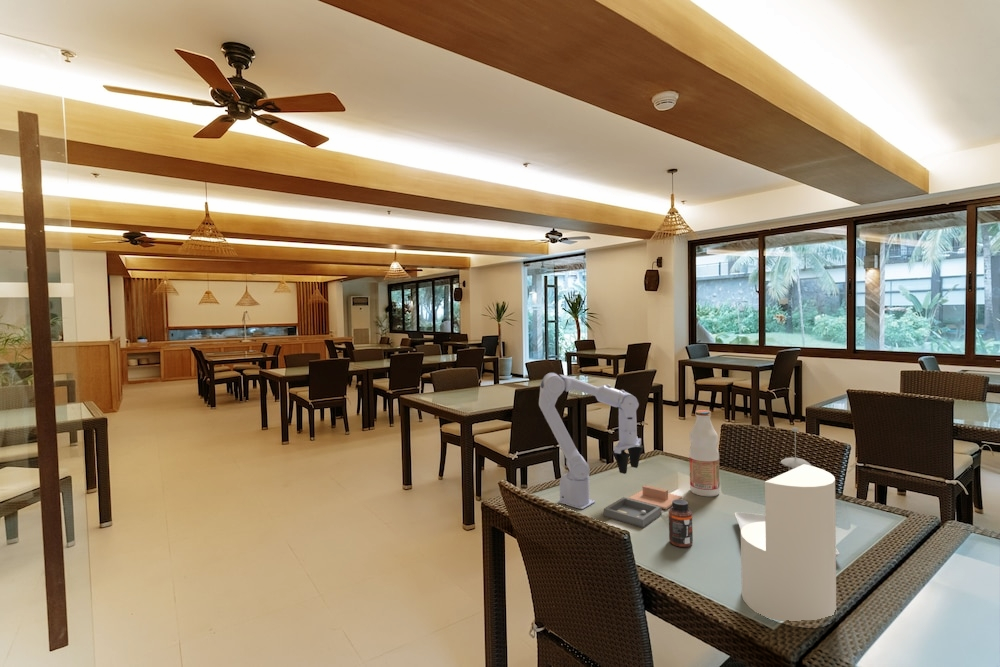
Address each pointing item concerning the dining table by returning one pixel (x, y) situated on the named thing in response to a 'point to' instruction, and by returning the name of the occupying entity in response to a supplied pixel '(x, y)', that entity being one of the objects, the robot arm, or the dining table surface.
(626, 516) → the tub
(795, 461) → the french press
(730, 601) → the dining table surface
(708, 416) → the fruit juice
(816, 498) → the white stepped round block
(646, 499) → the lid
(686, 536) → the supplement bottle
